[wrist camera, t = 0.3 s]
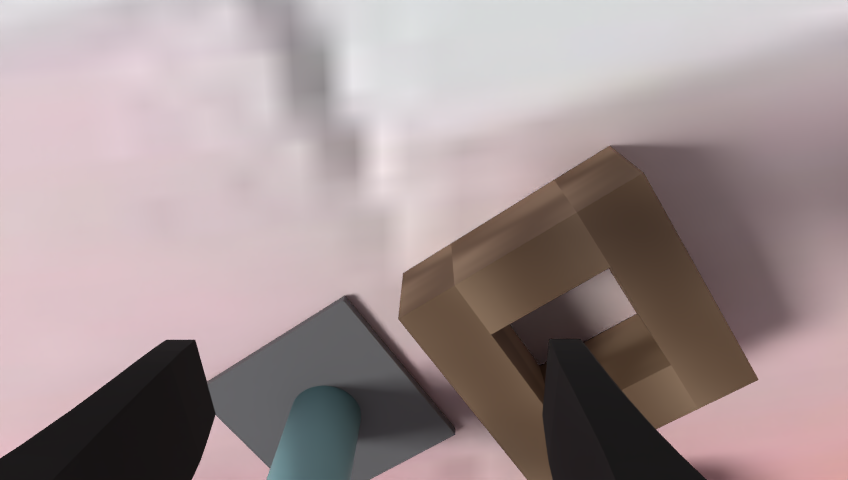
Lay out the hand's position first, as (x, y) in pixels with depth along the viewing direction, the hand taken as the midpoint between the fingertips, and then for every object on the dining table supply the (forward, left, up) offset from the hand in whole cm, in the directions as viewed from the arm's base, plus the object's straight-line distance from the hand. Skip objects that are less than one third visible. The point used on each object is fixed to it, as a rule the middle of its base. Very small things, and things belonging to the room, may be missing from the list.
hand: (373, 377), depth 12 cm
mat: (-8, -6, -10) cm, 14 cm away
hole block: (+3, -7, -10) cm, 13 cm away
